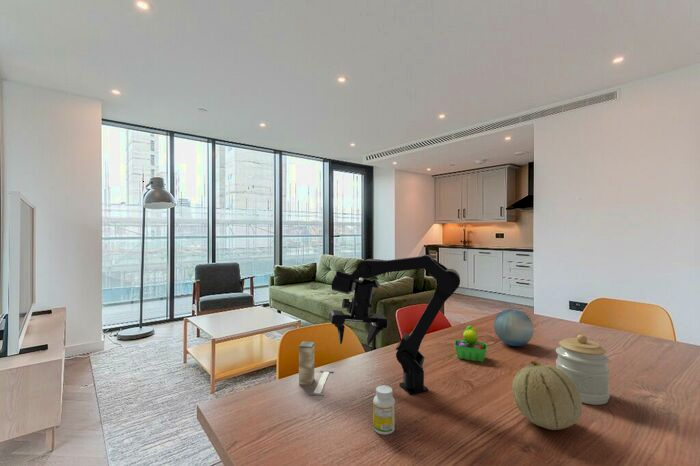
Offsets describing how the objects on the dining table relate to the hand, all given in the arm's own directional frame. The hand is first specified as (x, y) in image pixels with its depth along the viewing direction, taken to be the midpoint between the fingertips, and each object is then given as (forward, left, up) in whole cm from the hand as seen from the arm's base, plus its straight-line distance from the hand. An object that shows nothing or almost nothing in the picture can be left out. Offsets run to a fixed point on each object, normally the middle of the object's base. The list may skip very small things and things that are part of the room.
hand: (354, 344), depth 104 cm
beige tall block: (+4, +15, -11) cm, 19 cm away
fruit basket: (-1, -48, -11) cm, 50 cm away
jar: (-35, -58, -11) cm, 69 cm away
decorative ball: (+2, -74, -11) cm, 75 cm away
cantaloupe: (-41, -34, -11) cm, 54 cm away
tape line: (+2, +10, -11) cm, 15 cm away
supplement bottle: (-27, +4, -11) cm, 29 cm away
